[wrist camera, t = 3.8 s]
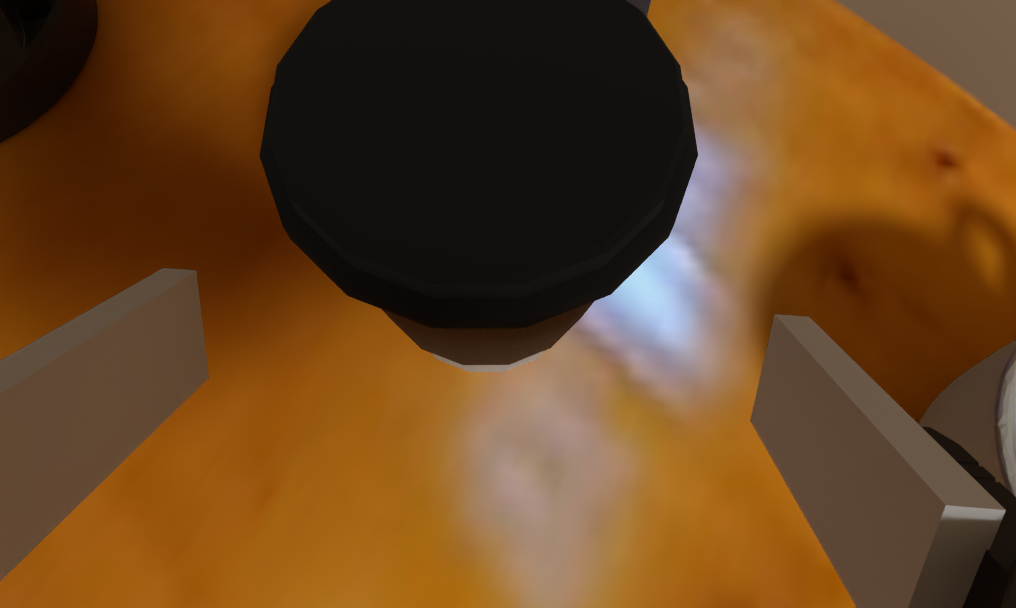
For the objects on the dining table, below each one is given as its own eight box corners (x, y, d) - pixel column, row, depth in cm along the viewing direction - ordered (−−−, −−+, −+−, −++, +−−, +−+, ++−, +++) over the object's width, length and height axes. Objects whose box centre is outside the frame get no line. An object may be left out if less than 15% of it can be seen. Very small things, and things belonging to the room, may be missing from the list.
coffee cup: (391, 167, 29) (324, -91, 18) (636, 207, 28) (723, -36, 17) (317, 404, 25) (170, 254, 14) (604, 458, 24) (693, 347, 13)
